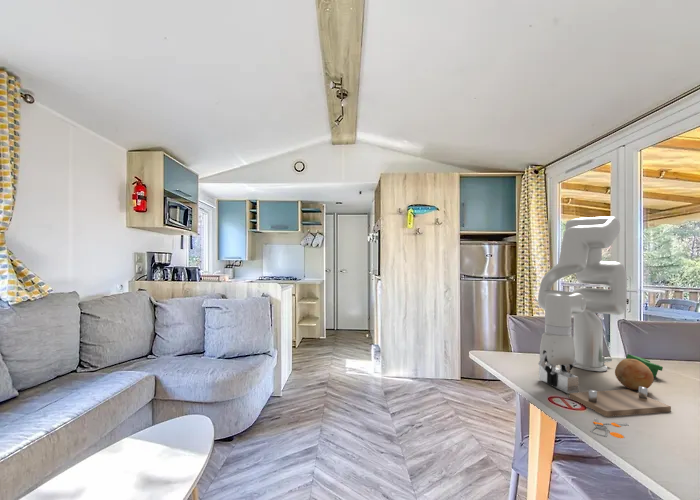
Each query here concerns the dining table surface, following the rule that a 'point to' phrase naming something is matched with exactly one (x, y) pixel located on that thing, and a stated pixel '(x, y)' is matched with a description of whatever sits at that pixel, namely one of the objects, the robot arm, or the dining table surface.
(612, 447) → the dining table surface
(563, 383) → the silver metal block
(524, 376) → the dining table surface
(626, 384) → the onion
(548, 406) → the dining table surface
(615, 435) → the key chain
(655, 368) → the clamp
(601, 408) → the peg board
